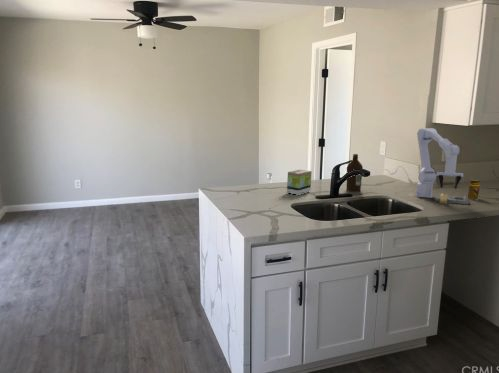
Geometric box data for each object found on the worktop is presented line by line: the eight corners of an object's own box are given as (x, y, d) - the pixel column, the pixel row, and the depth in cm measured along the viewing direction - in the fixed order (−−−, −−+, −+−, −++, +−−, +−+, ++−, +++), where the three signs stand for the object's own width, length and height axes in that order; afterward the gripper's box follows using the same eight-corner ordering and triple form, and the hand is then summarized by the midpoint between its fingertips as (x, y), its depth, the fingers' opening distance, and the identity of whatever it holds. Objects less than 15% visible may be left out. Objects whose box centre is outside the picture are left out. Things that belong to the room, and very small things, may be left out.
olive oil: (342, 190, 292) (344, 154, 286) (351, 188, 299) (353, 152, 294) (355, 192, 284) (358, 155, 279) (364, 190, 291) (366, 154, 286)
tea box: (299, 196, 273) (300, 173, 270) (286, 193, 279) (286, 171, 276) (311, 192, 285) (311, 170, 282) (298, 190, 291) (298, 168, 288)
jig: (435, 201, 261) (436, 198, 260) (435, 197, 271) (435, 194, 270) (468, 204, 254) (468, 201, 254) (466, 200, 264) (467, 197, 264)
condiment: (478, 200, 265) (480, 181, 262) (463, 198, 269) (465, 180, 266) (478, 198, 271) (481, 179, 269) (464, 196, 275) (466, 178, 273)
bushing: (439, 204, 255) (440, 194, 253) (439, 202, 258) (440, 193, 257) (446, 204, 253) (448, 195, 252) (446, 203, 257) (447, 193, 256)
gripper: (438, 166, 250) (436, 188, 253) (465, 167, 246) (462, 190, 249) (436, 164, 257) (434, 186, 259) (462, 165, 253) (460, 187, 256)
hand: (448, 188), depth 255 cm, fingers open, 7 cm apart
